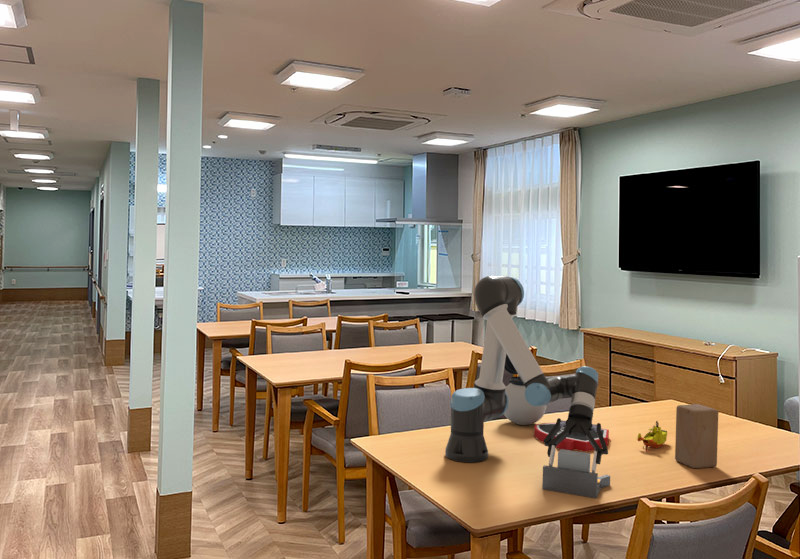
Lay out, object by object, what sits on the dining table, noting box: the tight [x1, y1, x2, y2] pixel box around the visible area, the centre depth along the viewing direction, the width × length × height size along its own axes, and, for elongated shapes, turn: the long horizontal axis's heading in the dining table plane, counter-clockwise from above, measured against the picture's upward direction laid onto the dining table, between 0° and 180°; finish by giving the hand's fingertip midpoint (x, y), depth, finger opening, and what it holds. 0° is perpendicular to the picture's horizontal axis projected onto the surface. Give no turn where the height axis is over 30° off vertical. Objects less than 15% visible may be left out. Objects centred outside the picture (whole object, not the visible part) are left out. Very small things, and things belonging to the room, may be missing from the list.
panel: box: [557, 449, 591, 472], centre depth 197 cm, size 4×9×11 cm, turn 64°
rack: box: [541, 464, 611, 499], centre depth 199 cm, size 14×20×7 cm
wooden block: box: [674, 403, 719, 469], centre depth 223 cm, size 10×10×20 cm
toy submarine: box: [637, 420, 668, 452], centre depth 244 cm, size 6×18×10 cm, turn 135°
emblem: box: [533, 422, 610, 452], centre depth 253 cm, size 30×4×30 cm
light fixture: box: [503, 354, 548, 426], centre depth 276 cm, size 20×23×33 cm
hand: (571, 469), depth 195 cm, fingers open, 12 cm apart
